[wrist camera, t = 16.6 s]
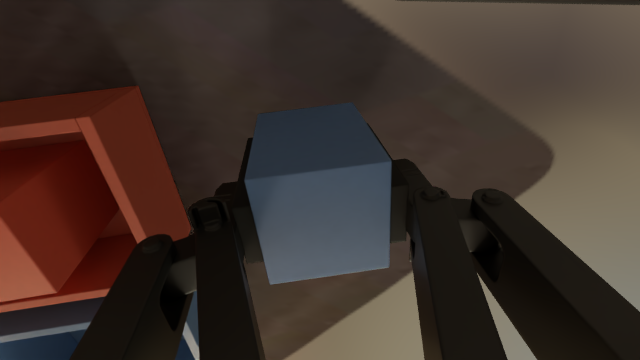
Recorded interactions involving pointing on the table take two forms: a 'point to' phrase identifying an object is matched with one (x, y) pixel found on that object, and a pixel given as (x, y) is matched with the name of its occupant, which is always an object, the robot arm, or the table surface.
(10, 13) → the table surface
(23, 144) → the red bin
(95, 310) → the blue bin
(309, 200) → the blue block
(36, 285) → the red block
